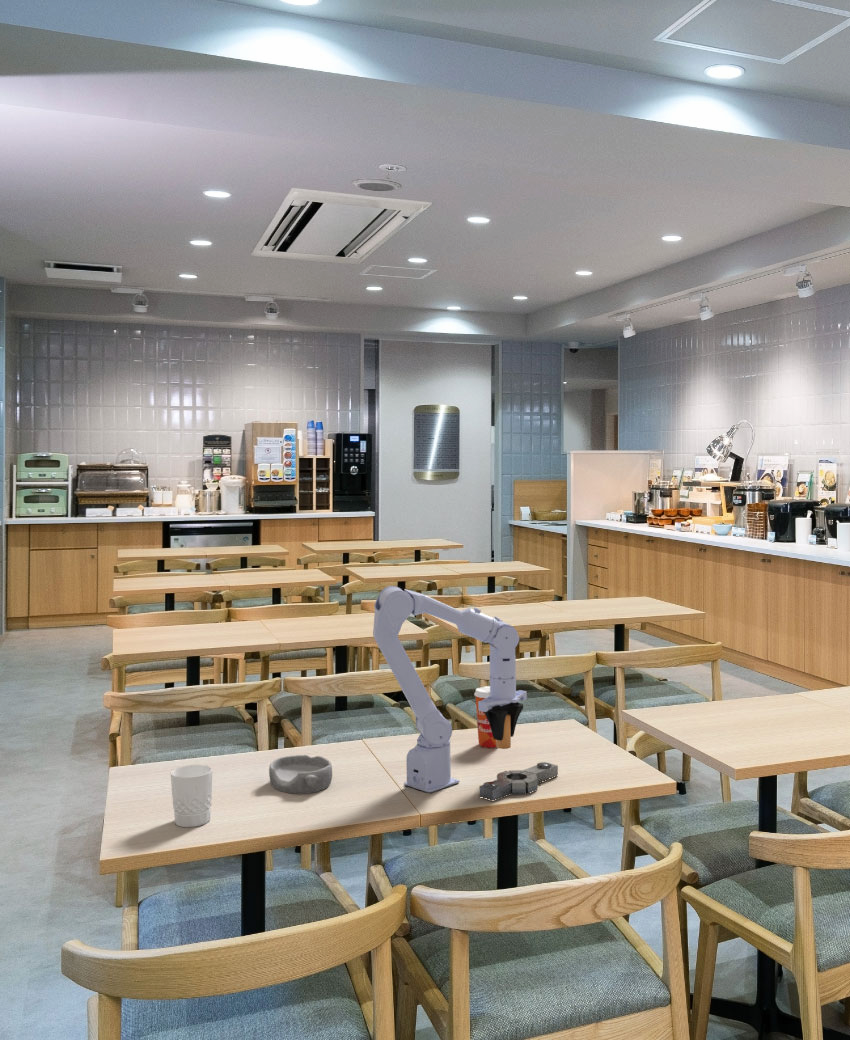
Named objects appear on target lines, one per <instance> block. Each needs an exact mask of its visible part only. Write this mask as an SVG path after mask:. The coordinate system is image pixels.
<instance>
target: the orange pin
mask: <svg viewBox="0 0 850 1040" xmlns="http://www.w3.org/2000/svg"><path fill="white" fill-rule="evenodd" d="M511 740H512V737H511V723H510V715H509V714H507V715H506V718H505V722H504V734H503V740H501V741H500V740H496V747H497V748H498V749H503V750H506V749H511V746H512V741H511Z"/></svg>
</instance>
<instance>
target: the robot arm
mask: <svg viewBox="0 0 850 1040" xmlns="http://www.w3.org/2000/svg"><path fill="white" fill-rule="evenodd" d="M481 611H482V610H481V609H480V608H477V607H474V608H470V607H467V608H465V609H463V610H460V609H458V608H455V607H452V606H450V605H448V604H446V603H443V602H442V601H439V600H437V599H435V598H432V597H430V596H428V595H426V594H423V593H421V592H416V591H413V590H410V589H406V588H404V590H402V588H400V587H398V586H395V585H388V586H386V587H384V588H383V589H382V590H381V591H380V592H379V593H378V596H377V598H376V600H375V602H374V615H373V616H374V617H373V630H372V636H373V639H374V642H375V643H376V644H377V646H378V648H379V650H380V653H381V654H382V655H383V658H384V660H385V661H386V663H387V665H388V667H389V669H390V671H391V673H392V674H393V675H394V678H395V679H396V681H397V684H398V685H399V688H400V689H401V691H402V693H403V694H404V697H405V698H406V700H407V701H408V704H409V706H410V708H411V711H412V713H413V715H414V717H415V727H416V729H417V731H418V732H419V733H420V734H419V735H418V737H417V739H416V742H417V743H416V745H415V746H414V747H413V748H411V749H410V750H408V752H407V754H406V781H404V784H403V785H404V786H408V787H411V788H414V789H415V790H416V789H417V790H420V791H423V792H424V793H425V792H426V793H433V792H436V791H439V790H441V789H442V790H443V789H444V788H447V787H449V786H453V785H456V784H458V783H460V780H459V779H457V778H454V777H452V775H451V773H452V771H451V738H452V735H453V728H452V724H451V723H450V721H449V720H448V719H446V718H445V717H444V716H443V713H442V712H441V711H440V710H439V709H438V708H437V706H436V705H435V704H434V702H433V700H432V698H431V696H430V694H429V693H428V691H427V688H426V687H425V685H424V684H423V681H422V679H421V677H420V676H419V674H418V672H417V671H416V669H415V667H414V665H413V663H412V661H411V660H410V658H409V655H408V654H407V652H406V650H405V647H404V646H403V645H402V644H403V643H401V640H400V639H399V634H400V631H401V628H402V627H403V624H404V622H405V621H406V620H407V619H408V618H409V617H410V615H411V614H412V615H413V616H419V615H422V614H427V615H430V616H433V617H436V618H438V619H441V620H443V621H446V622H449V623H452V624H454V625H456V627H457V631H459V633H460V634H462V635H466V636H468V637H471V638H473V639H475V640H478V641H480V642H482V643H484V644H485V643H488V644H489V686H490V696H488V697H487V698H485V699H484V700H482V701H479V702H478V710H479V711H483V712H484V714H485V715H486V717H487V719H488V721H489V724H490V727H491V730H492V734H493V738H494V739H496V740H500V741H501V740H503V734H504V722H505V718H506V715H507V714H509V715H510V723H511V738H513V737H514V735H515V730H516V726H517V724H518V720H519V717H520V716H521V712H522V711H523V709H524V704H523V703H521V702H520V701H526V700H527V699H528V693H527V691H526V690H521V689H519V690H517V673H516V671H517V669H516V665H517V663H516V661H517V659H516V647H518V645H519V642H520V636H519V635H518V631H517V630H516V628H515V627H514V626H513V625H511V624H508V623H507V622H504V621H503V619H501V618H500V617H499V616H494V617H492V616H490V615H487V614H486V613H482V612H481Z"/></svg>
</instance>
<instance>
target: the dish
mask: <svg viewBox="0 0 850 1040" xmlns="http://www.w3.org/2000/svg"><path fill="white" fill-rule="evenodd" d="M268 773H269V774H268V775H269V781H270V784H271V786H272V788H273V789H275V790H277V791H278V792H279V791H280V792H283V793H288V794H299V795H300V794H302V795H303V794H312V793H317V792H319V791H323V790H324V789H326V788H328V787H329V786H330V785H331V783H332V779H333V766H332V762H331V761H330V760H329V759H327V758H326V757H323V756H321V755H320V756H319V755H317V756H310V755H308V754H307V755H306V754H304V755H302V754H296V755H295V754H294V755H287V756H286V755H285V756H280V757H278V758H276V759H274V760H272V762H270V764H269V768H268Z"/></svg>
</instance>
